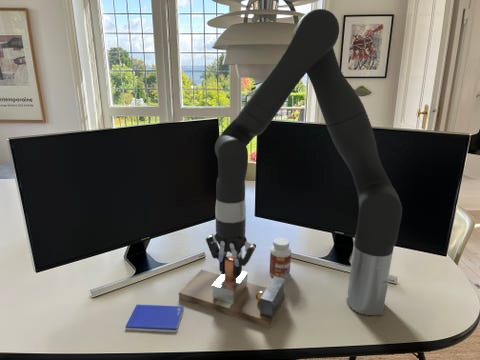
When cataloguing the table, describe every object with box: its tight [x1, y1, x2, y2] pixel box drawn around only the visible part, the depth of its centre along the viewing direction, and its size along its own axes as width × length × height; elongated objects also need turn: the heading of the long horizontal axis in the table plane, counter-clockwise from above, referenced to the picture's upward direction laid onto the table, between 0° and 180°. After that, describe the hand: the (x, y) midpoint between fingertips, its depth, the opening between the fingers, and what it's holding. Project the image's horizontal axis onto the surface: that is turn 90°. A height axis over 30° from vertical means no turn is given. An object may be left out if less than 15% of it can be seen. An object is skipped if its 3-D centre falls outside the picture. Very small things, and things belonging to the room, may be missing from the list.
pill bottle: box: [268, 237, 292, 279], centre depth 102 cm, size 6×6×11 cm
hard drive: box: [125, 303, 185, 333], centre depth 85 cm, size 2×8×12 cm
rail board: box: [178, 269, 286, 329], centre depth 92 cm, size 26×12×2 cm, turn 66°
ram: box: [213, 255, 248, 304], centre depth 90 cm, size 6×9×10 cm, turn 156°
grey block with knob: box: [256, 276, 286, 319], centre depth 87 cm, size 6×10×5 cm, turn 156°
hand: (230, 274), depth 90 cm, fingers closed on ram, 3 cm apart
